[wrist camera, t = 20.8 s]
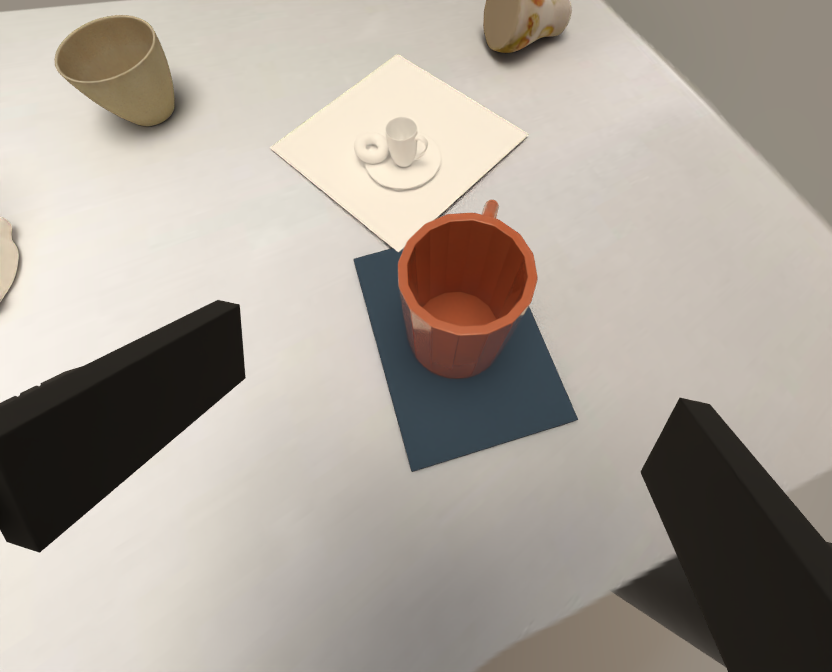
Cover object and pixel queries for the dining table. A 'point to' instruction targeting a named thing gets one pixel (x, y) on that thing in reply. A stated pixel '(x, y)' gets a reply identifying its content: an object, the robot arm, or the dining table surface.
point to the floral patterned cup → (523, 22)
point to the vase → (7, 257)
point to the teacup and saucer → (398, 148)
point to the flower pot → (119, 68)
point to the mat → (459, 381)
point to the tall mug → (464, 290)
